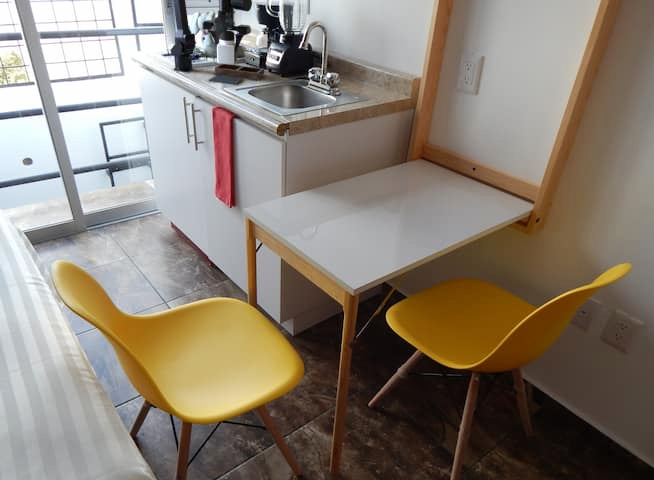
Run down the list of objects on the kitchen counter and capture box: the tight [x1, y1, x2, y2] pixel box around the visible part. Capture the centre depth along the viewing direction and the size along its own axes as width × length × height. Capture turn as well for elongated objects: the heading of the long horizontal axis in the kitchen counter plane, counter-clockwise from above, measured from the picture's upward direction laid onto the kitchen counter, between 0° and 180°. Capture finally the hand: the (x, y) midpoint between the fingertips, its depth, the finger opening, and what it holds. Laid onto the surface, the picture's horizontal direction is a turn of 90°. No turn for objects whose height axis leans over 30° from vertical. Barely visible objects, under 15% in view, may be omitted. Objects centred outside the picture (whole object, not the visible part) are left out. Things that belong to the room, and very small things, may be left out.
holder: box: [214, 63, 265, 81], centre depth 213 cm, size 19×10×3 cm, turn 78°
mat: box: [208, 75, 244, 85], centre depth 205 cm, size 12×9×1 cm
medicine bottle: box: [216, 30, 238, 65], centre depth 198 cm, size 7×7×12 cm
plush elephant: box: [189, 10, 247, 58], centre depth 239 cm, size 27×22×21 cm
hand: (227, 50), depth 199 cm, fingers closed on medicine bottle, 7 cm apart
